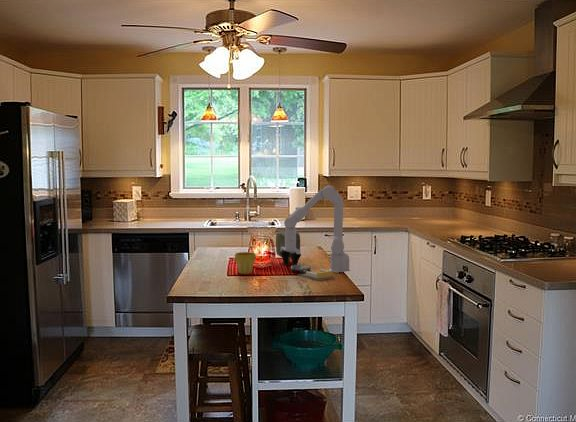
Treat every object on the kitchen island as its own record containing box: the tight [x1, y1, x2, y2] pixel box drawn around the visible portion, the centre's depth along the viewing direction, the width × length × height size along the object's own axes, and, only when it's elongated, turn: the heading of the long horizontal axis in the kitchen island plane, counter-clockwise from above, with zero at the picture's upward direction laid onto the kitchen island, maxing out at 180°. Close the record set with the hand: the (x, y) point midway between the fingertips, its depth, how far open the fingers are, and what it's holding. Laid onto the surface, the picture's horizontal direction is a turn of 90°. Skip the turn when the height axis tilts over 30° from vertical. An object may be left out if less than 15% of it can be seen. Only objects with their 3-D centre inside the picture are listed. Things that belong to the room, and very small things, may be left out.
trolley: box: [290, 263, 312, 274], centre depth 272 cm, size 6×9×4 cm
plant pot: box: [234, 251, 257, 275], centre depth 271 cm, size 10×10×10 cm
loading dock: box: [297, 269, 335, 281], centre depth 263 cm, size 10×16×4 cm, turn 37°
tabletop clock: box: [275, 227, 301, 265], centre depth 296 cm, size 14×9×25 cm, turn 22°
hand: (290, 266), depth 279 cm, fingers open, 7 cm apart
